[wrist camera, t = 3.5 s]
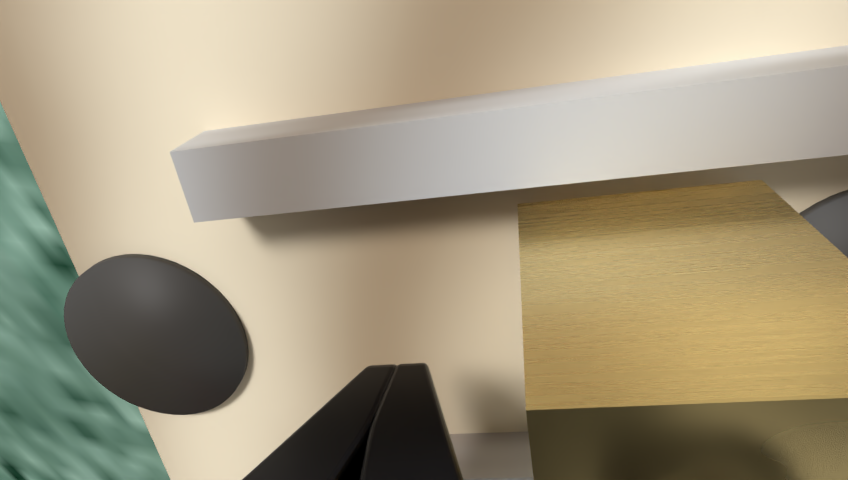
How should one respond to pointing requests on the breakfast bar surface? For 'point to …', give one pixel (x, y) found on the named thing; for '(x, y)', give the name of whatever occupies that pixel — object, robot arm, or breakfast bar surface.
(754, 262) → the block
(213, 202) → the plate
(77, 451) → the breakfast bar surface
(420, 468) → the robot arm
